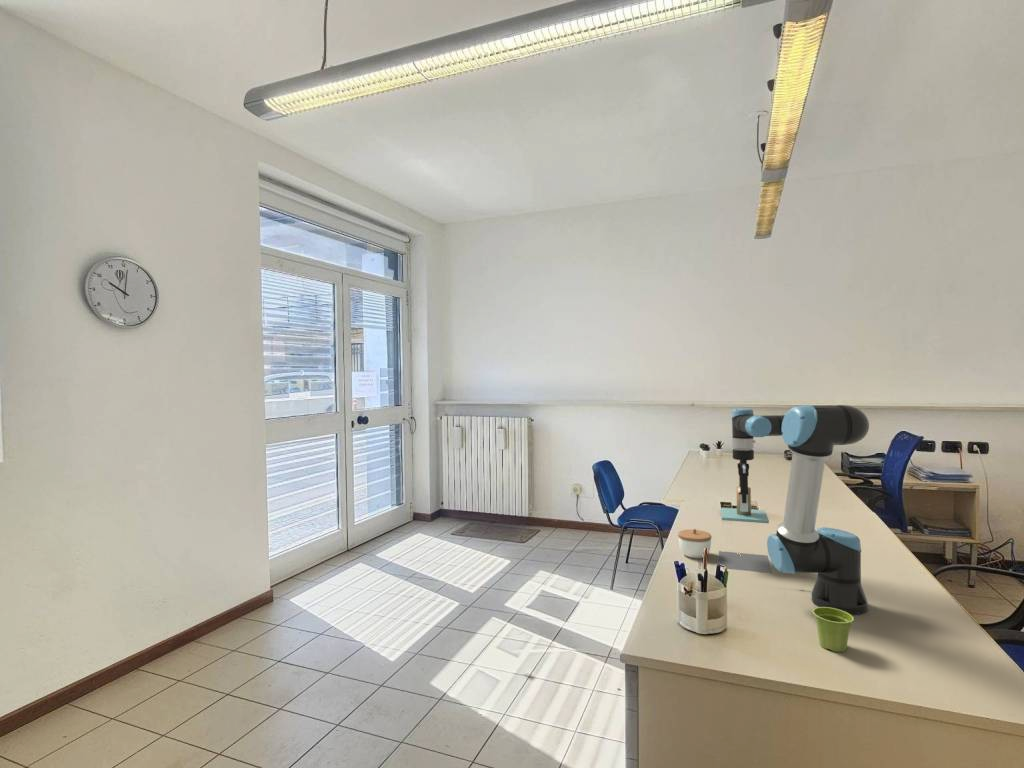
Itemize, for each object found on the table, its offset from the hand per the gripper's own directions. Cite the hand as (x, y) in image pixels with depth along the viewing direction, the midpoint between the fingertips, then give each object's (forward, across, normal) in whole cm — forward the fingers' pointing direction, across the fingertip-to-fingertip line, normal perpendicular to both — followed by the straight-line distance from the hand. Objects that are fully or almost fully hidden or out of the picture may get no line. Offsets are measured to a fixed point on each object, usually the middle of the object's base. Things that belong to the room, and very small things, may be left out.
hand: (743, 509), depth 208 cm
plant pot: (+22, -61, -19) cm, 67 cm away
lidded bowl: (+21, +2, +18) cm, 28 cm away
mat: (+21, 0, 0) cm, 21 cm away
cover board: (+3, 0, 0) cm, 3 cm away
